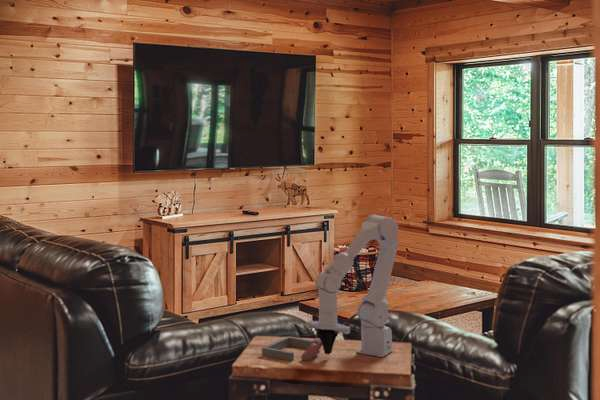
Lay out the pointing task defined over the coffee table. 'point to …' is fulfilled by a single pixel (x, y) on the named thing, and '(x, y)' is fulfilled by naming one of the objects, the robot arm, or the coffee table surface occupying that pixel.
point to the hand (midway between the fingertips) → (328, 353)
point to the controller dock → (275, 347)
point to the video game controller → (312, 350)
